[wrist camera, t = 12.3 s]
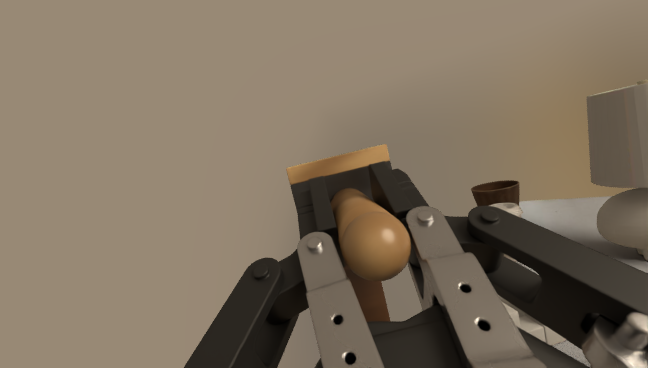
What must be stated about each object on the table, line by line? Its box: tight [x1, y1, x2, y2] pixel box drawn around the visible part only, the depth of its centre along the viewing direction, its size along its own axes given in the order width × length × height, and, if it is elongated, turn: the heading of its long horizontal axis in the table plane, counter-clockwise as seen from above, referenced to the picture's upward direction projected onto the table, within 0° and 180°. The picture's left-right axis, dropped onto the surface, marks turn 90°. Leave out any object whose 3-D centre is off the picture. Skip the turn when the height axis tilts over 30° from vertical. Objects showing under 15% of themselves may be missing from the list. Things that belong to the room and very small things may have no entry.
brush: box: [286, 144, 411, 281], centre depth 15 cm, size 6×14×4 cm, turn 2°
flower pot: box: [471, 181, 519, 206], centre depth 105 cm, size 15×15×16 cm
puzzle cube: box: [498, 295, 566, 346], centre depth 55 cm, size 12×12×8 cm
